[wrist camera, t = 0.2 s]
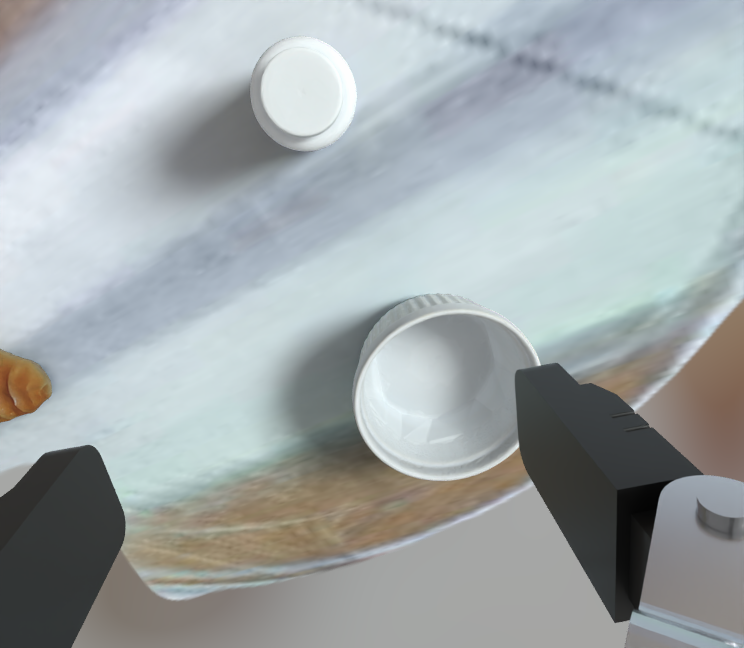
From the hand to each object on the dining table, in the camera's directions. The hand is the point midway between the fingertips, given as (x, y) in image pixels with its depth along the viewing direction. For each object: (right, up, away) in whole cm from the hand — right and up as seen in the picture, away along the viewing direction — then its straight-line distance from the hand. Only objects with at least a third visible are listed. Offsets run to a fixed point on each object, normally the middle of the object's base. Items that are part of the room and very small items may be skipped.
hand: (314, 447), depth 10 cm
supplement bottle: (-3, +17, +25) cm, 30 cm away
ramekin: (+6, 0, +32) cm, 32 cm away
